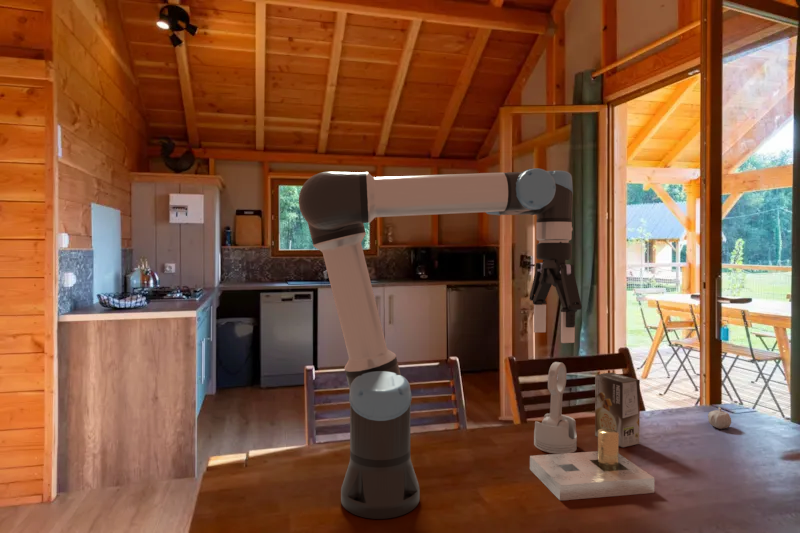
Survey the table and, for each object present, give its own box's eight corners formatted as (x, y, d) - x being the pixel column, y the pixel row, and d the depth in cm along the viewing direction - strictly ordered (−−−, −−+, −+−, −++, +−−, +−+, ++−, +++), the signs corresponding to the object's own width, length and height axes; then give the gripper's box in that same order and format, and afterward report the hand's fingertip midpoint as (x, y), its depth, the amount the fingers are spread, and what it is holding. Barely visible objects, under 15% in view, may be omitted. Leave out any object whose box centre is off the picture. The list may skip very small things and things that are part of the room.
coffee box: (640, 443, 125) (641, 379, 124) (622, 448, 122) (623, 382, 122) (611, 431, 133) (612, 371, 133) (593, 435, 131) (594, 374, 130)
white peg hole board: (559, 500, 97) (560, 485, 96) (529, 469, 110) (529, 455, 110) (654, 492, 100) (654, 477, 100) (613, 463, 113) (613, 450, 113)
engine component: (527, 447, 123) (568, 457, 117) (528, 364, 122) (569, 370, 116) (544, 434, 131) (583, 443, 125) (545, 356, 131) (584, 361, 125)
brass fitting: (604, 483, 103) (604, 435, 103) (593, 475, 107) (594, 429, 107) (622, 482, 104) (622, 434, 104) (610, 474, 108) (611, 428, 108)
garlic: (712, 422, 141) (712, 403, 141) (734, 427, 137) (734, 408, 137) (704, 427, 137) (704, 408, 137) (726, 432, 133) (727, 413, 133)
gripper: (600, 241, 100) (598, 347, 101) (545, 242, 125) (544, 328, 125) (565, 240, 99) (563, 348, 99) (516, 242, 123) (515, 328, 124)
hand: (552, 337), depth 112 cm, fingers open, 13 cm apart
